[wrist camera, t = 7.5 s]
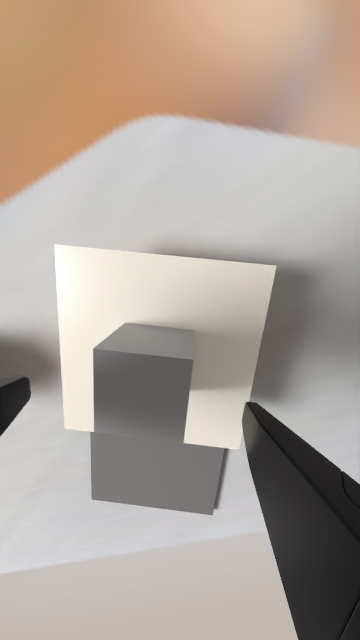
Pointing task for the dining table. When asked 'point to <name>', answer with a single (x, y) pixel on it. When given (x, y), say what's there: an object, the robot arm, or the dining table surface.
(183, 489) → the mat
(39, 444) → the dining table surface
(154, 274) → the lid
